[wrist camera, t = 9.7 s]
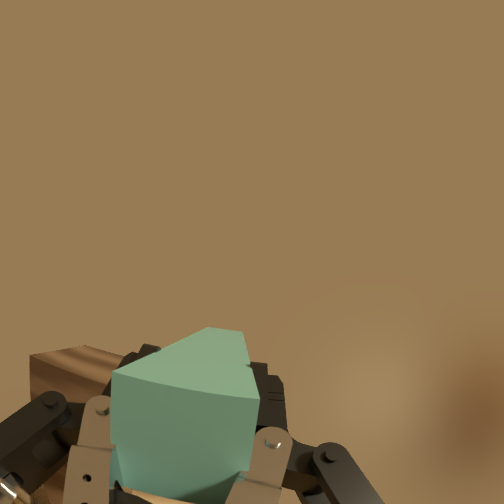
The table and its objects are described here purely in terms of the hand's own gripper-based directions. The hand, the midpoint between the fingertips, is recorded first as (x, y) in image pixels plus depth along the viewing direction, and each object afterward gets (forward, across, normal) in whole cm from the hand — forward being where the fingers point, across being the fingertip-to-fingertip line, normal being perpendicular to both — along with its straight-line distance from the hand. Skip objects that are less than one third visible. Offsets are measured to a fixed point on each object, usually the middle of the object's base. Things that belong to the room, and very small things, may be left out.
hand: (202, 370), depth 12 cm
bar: (+5, 0, +7) cm, 8 cm away
